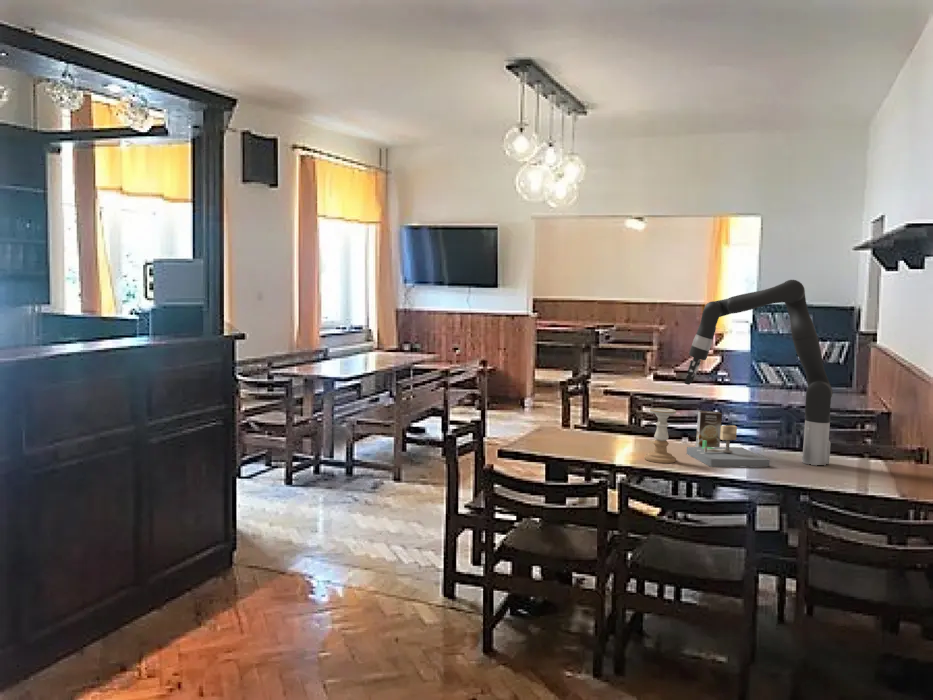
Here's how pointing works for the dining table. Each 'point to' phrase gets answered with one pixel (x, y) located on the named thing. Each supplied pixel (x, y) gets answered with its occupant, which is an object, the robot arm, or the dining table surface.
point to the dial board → (727, 457)
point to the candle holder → (661, 437)
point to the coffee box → (708, 428)
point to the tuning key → (725, 438)
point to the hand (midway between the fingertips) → (688, 383)
